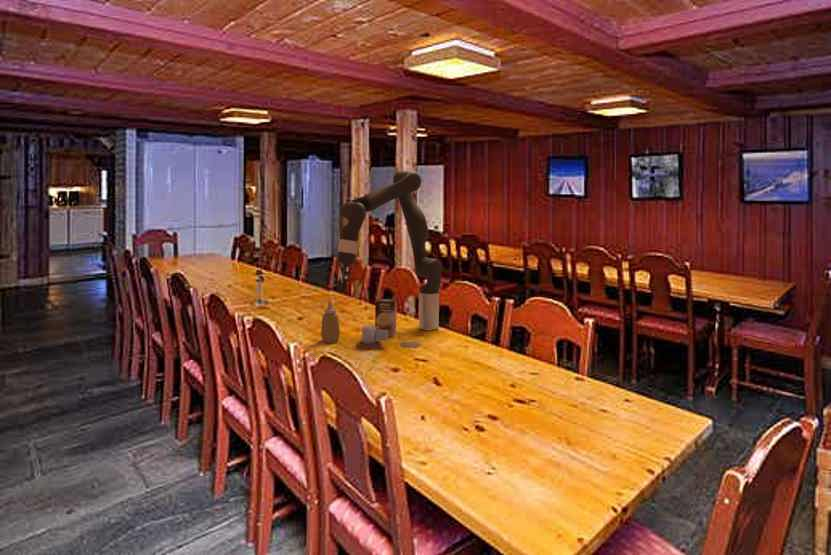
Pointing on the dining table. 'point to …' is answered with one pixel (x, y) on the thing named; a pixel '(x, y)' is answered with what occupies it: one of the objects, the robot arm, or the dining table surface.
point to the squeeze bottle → (330, 325)
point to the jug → (373, 335)
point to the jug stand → (369, 346)
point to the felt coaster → (410, 344)
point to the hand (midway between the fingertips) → (341, 291)
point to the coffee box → (386, 315)
